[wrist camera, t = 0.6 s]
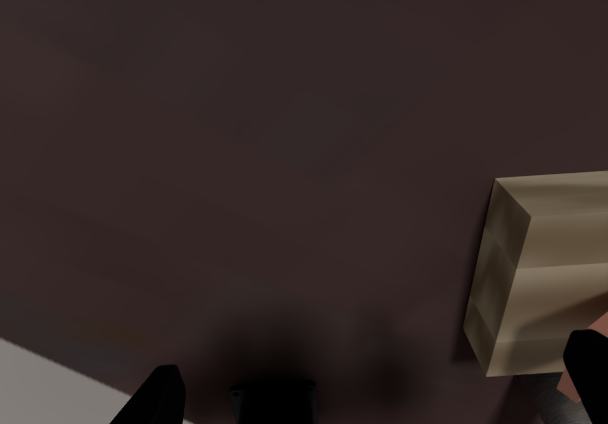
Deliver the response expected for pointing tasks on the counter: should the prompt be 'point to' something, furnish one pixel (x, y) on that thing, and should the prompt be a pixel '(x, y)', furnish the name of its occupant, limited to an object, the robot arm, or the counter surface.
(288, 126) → the counter surface
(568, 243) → the block
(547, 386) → the peg
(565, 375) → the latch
